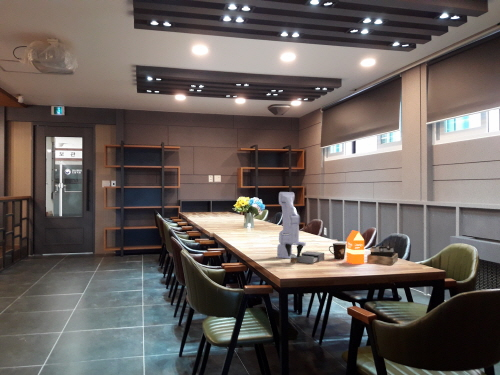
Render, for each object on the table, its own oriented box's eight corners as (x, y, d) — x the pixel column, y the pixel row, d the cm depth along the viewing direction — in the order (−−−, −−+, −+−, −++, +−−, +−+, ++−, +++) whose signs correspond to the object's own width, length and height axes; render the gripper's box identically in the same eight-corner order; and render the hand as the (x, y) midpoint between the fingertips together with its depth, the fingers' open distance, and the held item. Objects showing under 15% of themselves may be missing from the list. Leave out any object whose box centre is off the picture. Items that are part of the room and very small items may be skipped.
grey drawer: (296, 261, 238) (296, 255, 238) (302, 259, 246) (302, 253, 246) (313, 263, 232) (313, 257, 232) (319, 261, 241) (319, 254, 241)
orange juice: (352, 263, 234) (353, 231, 234) (346, 261, 242) (346, 230, 243) (364, 263, 235) (364, 231, 236) (357, 261, 244) (357, 230, 244)
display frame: (367, 262, 240) (367, 255, 240) (374, 258, 256) (374, 251, 256) (392, 265, 232) (392, 257, 232) (397, 260, 248) (397, 253, 248)
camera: (388, 262, 249) (387, 246, 251) (395, 262, 239) (394, 245, 241) (366, 262, 248) (366, 246, 250) (373, 261, 238) (372, 245, 240)
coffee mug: (344, 257, 256) (345, 243, 256) (346, 260, 247) (347, 244, 247) (327, 257, 257) (327, 242, 257) (328, 259, 248) (328, 244, 248)
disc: (288, 257, 234) (288, 254, 234) (291, 256, 239) (291, 253, 239) (296, 258, 232) (296, 255, 232) (299, 256, 236) (299, 254, 236)
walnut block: (290, 262, 235) (290, 257, 235) (292, 262, 237) (292, 256, 238) (295, 263, 233) (295, 257, 233) (297, 262, 236) (297, 257, 236)
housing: (301, 259, 246) (301, 253, 246) (307, 257, 254) (307, 251, 254) (319, 261, 240) (319, 254, 240) (324, 259, 248) (324, 252, 248)
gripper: (280, 234, 236) (280, 256, 236) (302, 236, 228) (302, 258, 228) (285, 233, 242) (285, 254, 242) (306, 235, 235) (306, 257, 234)
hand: (293, 256), depth 235 cm, fingers closed on disc, 5 cm apart
